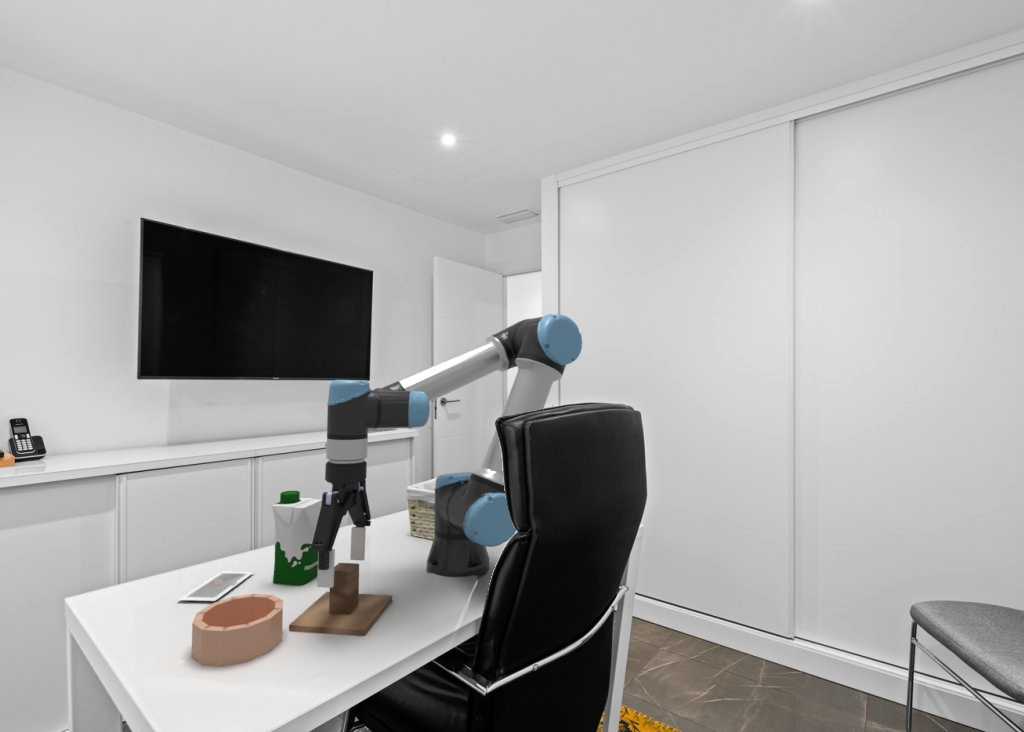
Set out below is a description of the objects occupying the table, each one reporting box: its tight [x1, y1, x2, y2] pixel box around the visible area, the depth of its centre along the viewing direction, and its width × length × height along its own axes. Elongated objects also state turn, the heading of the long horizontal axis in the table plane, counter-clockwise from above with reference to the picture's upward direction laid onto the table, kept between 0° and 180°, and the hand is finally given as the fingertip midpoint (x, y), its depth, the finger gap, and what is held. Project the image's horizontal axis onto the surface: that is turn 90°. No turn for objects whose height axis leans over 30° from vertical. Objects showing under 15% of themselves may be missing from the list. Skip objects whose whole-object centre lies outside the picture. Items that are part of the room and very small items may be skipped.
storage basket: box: [406, 477, 437, 541], centre depth 152 cm, size 24×16×15 cm
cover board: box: [288, 562, 393, 637], centre depth 95 cm, size 14×14×9 cm
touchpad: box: [177, 570, 255, 602], centre depth 109 cm, size 8×15×2 cm, turn 179°
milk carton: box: [271, 490, 322, 587], centre depth 112 cm, size 9×9×20 cm
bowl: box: [191, 593, 284, 667], centre depth 85 cm, size 13×13×6 cm
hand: (342, 572), depth 95 cm, fingers open, 13 cm apart
